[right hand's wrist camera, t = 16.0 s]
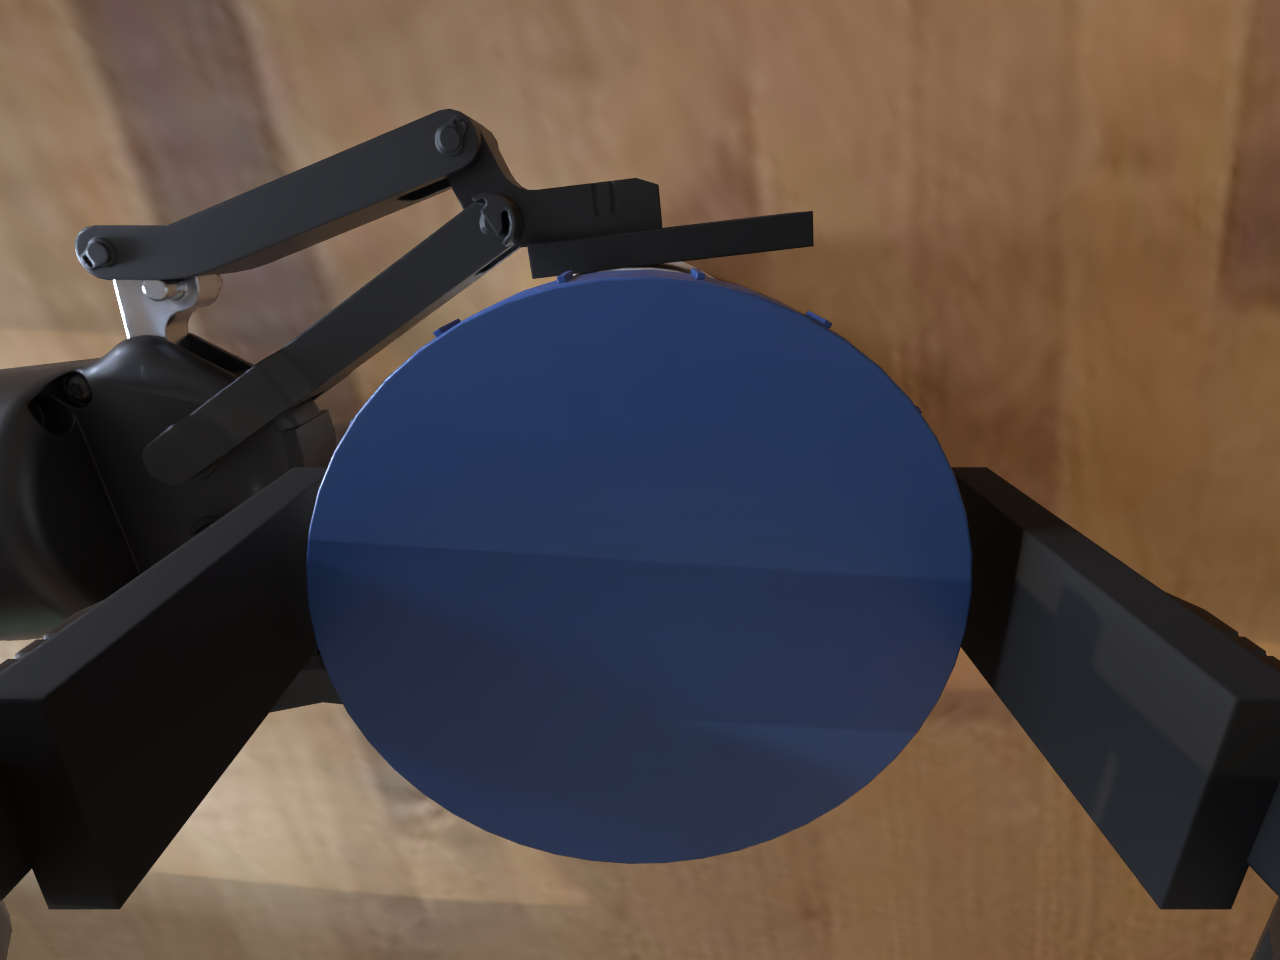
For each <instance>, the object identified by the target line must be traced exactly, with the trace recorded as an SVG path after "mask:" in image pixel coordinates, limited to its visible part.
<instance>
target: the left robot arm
mask: <svg viewBox="0 0 1280 960" xmlns="http://www.w3.org/2000/svg"><path fill="white" fill-rule="evenodd" d="M450 189H453V191H454V193H455V194H456V196H457V198H458V200H459V202H460V204H461V205H462V207H463V209H464V210H463V211H462V212H461V213H459V214H458V215H457V216H455V217H454V218H453V219H451V220H450V221H449V222H448V223H446V224H445V225H444V226H442V227H441V228H440V229H438V230H437V231H436V232H434V233H433V234H432V235H430V236H429V237H428V238H427V239H425V240H424V241H423V242H421V243H420V244H419V245H417V246H416V247H415V248H413V249H412V250H411V251H409V252H408V253H407V254H405V255H404V256H403V257H402V258H400V259H399V260H398V261H396V262H395V263H394V264H392V265H391V266H390V267H388V268H387V269H386V270H384V271H383V272H382V273H381V274H379V275H378V276H377V277H375V278H374V279H373V280H371V281H370V282H369V283H367V284H366V285H365V286H363V287H362V288H361V289H360V290H358V291H357V292H356V293H354V294H353V295H352V296H350V297H349V298H348V299H346V300H345V301H344V302H342V303H341V304H340V305H338V306H337V307H336V308H335V309H333V310H332V311H331V312H329V313H328V314H327V315H325V316H324V317H323V318H321V319H320V320H319V321H317V322H316V323H315V324H314V325H312V326H311V327H310V328H308V329H307V330H306V331H304V332H303V333H302V334H300V335H299V336H298V337H296V338H295V339H294V340H292V341H291V342H290V343H289V344H287V345H286V346H285V347H283V348H282V349H280V350H279V351H277V352H276V353H274V354H272V355H270V356H268V357H267V358H265V359H263V360H262V361H260V362H259V363H257V364H256V365H253V364H251V363H249V362H247V361H245V360H243V359H241V358H239V357H237V356H235V355H233V354H231V353H229V352H227V351H226V350H224V349H222V348H220V347H218V346H216V345H214V344H212V343H210V342H208V341H206V340H204V339H202V338H200V337H198V336H196V335H194V334H191V333H188V320H189V317H190V316H191V314H192V313H193V312H194V311H195V310H197V309H199V308H202V307H205V306H208V305H211V304H212V303H213V302H215V300H216V299H217V297H218V294H219V291H220V290H221V288H222V286H223V280H222V278H221V276H220V275H219V274H224V273H233V272H239V271H244V270H250V269H253V268H256V267H259V266H262V265H265V264H268V263H271V262H273V261H276V260H278V259H280V258H283V257H285V256H288V255H290V254H293V253H295V252H298V251H300V250H303V249H305V248H307V247H310V246H312V245H315V244H317V243H320V242H322V241H325V240H327V239H330V238H332V237H334V236H337V235H339V234H342V233H344V232H347V231H349V230H352V229H354V228H356V227H359V226H361V225H364V224H366V223H369V222H371V221H374V220H376V219H379V218H381V217H383V216H386V215H388V214H391V213H393V212H396V211H398V210H401V209H403V208H406V207H408V206H410V205H413V204H415V203H418V202H420V201H423V200H425V199H428V198H430V197H433V196H435V195H437V194H440V193H442V192H445V191H447V190H450ZM810 246H813V211H808V212H796V213H785V214H776V215H768V216H760V217H751V218H743V219H734V220H726V221H717V222H709V223H700V224H692V225H683V226H675V227H666V228H662V218H661V208H660V197H659V186H658V185H657V184H654V183H651V182H647V181H644V180H641V179H637V178H632V179H624V180H615V181H607V182H599V183H591V184H582V185H574V186H566V187H558V188H549V189H541V190H527V189H525V188H524V187H522V186H521V185H520V184H519V183H518V182H517V181H516V180H515V179H514V177H513V176H512V174H511V173H510V171H509V169H508V167H507V165H506V163H505V161H504V159H503V157H502V155H501V153H500V151H499V148H498V143H497V140H496V139H495V137H494V136H493V134H492V133H491V132H490V131H489V130H488V129H486V128H485V127H484V126H482V125H481V124H479V123H478V122H476V121H474V120H473V119H471V118H470V117H468V116H466V115H465V114H463V113H461V112H459V111H456V110H452V109H446V110H440V111H437V112H435V113H432V114H430V115H428V116H425V117H423V118H421V119H418V120H416V121H413V122H411V123H409V124H406V125H404V126H402V127H399V128H397V129H395V130H392V131H390V132H387V133H385V134H383V135H380V136H378V137H376V138H373V139H371V140H369V141H366V142H364V143H361V144H359V145H357V146H354V147H352V148H350V149H347V150H345V151H343V152H340V153H338V154H336V155H333V156H331V157H328V158H326V159H324V160H321V161H319V162H317V163H314V164H312V165H310V166H307V167H305V168H302V169H300V170H298V171H295V172H293V173H291V174H288V175H286V176H284V177H281V178H279V179H276V180H274V181H272V182H269V183H267V184H265V185H262V186H260V187H258V188H255V189H253V190H250V191H248V192H246V193H243V194H241V195H239V196H236V197H234V198H232V199H229V200H227V201H225V202H222V203H220V204H217V205H215V206H213V207H210V208H208V209H206V210H203V211H201V212H199V213H196V214H194V215H191V216H189V217H187V218H184V219H182V220H180V221H177V222H175V223H173V224H170V225H95V226H90V227H86V228H84V229H83V230H82V231H81V232H80V233H78V236H77V238H76V241H75V249H76V254H77V257H78V259H79V261H80V263H81V264H82V266H83V267H84V268H85V269H86V270H87V271H88V272H89V273H91V274H92V275H94V276H96V277H98V278H101V279H106V280H113V282H114V286H115V290H116V293H117V297H118V301H119V305H120V309H121V313H122V317H123V321H124V325H125V329H126V333H127V337H128V339H126V340H124V341H122V342H120V343H119V344H117V345H116V346H115V347H114V348H113V349H112V350H111V351H110V352H109V353H108V354H106V355H105V356H103V357H101V358H96V359H87V360H78V361H70V362H61V363H52V364H43V365H35V366H26V367H17V368H8V369H0V641H2V640H7V641H12V640H29V639H39V638H43V635H44V634H45V633H47V632H48V631H50V630H51V629H52V628H54V627H55V626H57V625H58V624H60V623H61V622H63V621H64V620H66V619H67V618H68V617H70V616H71V615H73V614H74V613H76V612H78V611H80V610H82V609H85V608H87V607H89V606H91V605H93V604H96V603H98V602H100V601H102V600H105V599H106V598H107V597H109V596H110V595H112V594H113V593H115V592H116V591H117V590H119V589H120V588H122V587H123V586H125V585H126V584H127V583H129V582H130V581H132V580H133V579H135V578H136V577H138V576H139V575H140V574H142V573H143V572H145V571H146V570H148V569H149V568H150V567H152V566H153V565H155V564H156V563H158V562H159V561H160V560H162V559H163V558H165V557H166V556H168V555H169V554H170V553H172V552H173V551H175V550H176V549H178V548H179V547H180V546H182V545H183V544H185V543H186V542H188V541H189V540H190V539H192V538H193V537H195V536H196V535H198V534H199V533H200V532H202V531H203V530H205V529H206V528H208V527H209V526H210V525H212V524H213V523H215V522H216V521H218V520H219V519H220V518H222V517H223V516H225V515H226V514H228V513H229V512H230V511H232V510H233V509H235V508H236V507H238V506H239V505H240V504H242V503H243V502H245V501H246V500H248V499H249V498H250V497H252V496H253V495H255V494H256V493H258V492H259V491H260V490H262V489H263V488H265V487H266V486H268V485H269V484H270V483H272V482H273V481H275V480H276V479H278V478H279V477H280V476H282V475H283V474H285V473H286V472H288V471H289V470H290V469H292V468H293V467H328V465H329V463H330V460H331V458H332V456H333V453H334V451H335V449H336V435H335V432H334V428H333V424H332V421H331V417H330V413H329V410H322V411H320V410H319V408H318V406H317V405H316V404H315V402H314V400H316V399H317V398H318V397H320V396H321V395H322V394H324V393H325V392H326V391H328V390H329V389H331V388H332V387H333V386H335V385H336V384H337V383H339V382H340V381H341V380H343V379H344V378H346V377H347V376H348V375H349V374H350V373H351V372H352V371H353V370H354V369H356V368H357V367H359V366H360V365H361V364H363V363H364V362H365V361H367V360H368V359H369V358H371V357H372V356H374V355H375V354H376V353H378V352H379V351H380V350H382V349H383V348H384V347H386V346H387V345H389V344H390V343H391V342H393V341H394V340H395V339H397V338H398V337H399V336H401V335H402V334H404V333H405V332H406V331H408V330H409V329H410V328H412V327H413V326H414V325H416V324H417V323H419V322H420V321H421V320H423V319H424V318H425V317H427V316H428V315H429V314H431V313H432V312H434V311H435V310H436V309H438V308H439V307H440V306H442V305H443V304H444V303H446V302H447V301H449V300H450V299H451V298H453V297H454V296H455V295H457V294H458V293H460V292H461V291H462V290H464V289H465V288H466V287H468V286H469V285H470V284H472V283H473V282H475V281H476V280H477V279H479V278H480V277H481V276H483V275H484V274H485V273H487V272H488V271H490V270H491V269H492V268H494V267H495V266H496V265H498V264H499V263H500V262H502V261H503V260H505V259H506V258H507V257H509V256H510V255H511V254H513V253H514V252H515V251H517V250H518V249H520V248H521V247H528V253H529V259H530V266H531V272H532V278H533V279H535V278H543V277H552V276H559V275H561V274H563V273H564V272H567V271H572V272H573V274H578V273H587V272H595V271H604V270H612V269H620V268H630V267H638V266H647V265H655V264H664V263H673V262H681V261H690V260H698V259H707V258H716V257H724V256H733V255H741V254H750V253H759V252H767V251H776V250H784V249H793V248H802V247H810ZM321 702H326V703H336V704H343V703H342V701H341V699H340V698H339V696H338V694H337V692H336V690H335V688H334V686H333V685H332V683H331V681H330V679H329V676H328V673H327V671H326V668H325V665H324V663H323V660H322V657H321V655H320V652H319V649H317V650H316V652H315V653H314V654H313V656H312V657H311V658H310V660H309V661H308V662H307V663H306V665H305V666H304V667H303V669H302V670H301V671H300V673H299V674H298V675H297V677H296V678H295V679H294V681H293V682H292V683H291V685H290V686H289V687H288V688H287V690H286V691H285V692H284V694H283V695H282V696H281V698H280V699H279V700H278V702H277V703H276V704H275V706H274V707H273V708H272V710H271V711H270V712H275V711H280V710H285V709H290V708H295V707H300V706H306V705H311V704H316V703H321Z"/></svg>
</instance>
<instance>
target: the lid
mask: <svg viewBox="0 0 1280 960" xmlns="http://www.w3.org/2000/svg"><path fill="white" fill-rule="evenodd" d="M831 325H832V323H830V322H829V321H827V320H826V319H824V318H822V317H820V316H818V315H816V314H814V313H812V312H810V311H807V313H806V314H805V315H803V314H802V313H800V312H798V311H796V310H794V309H793V308H791V307H789V306H787V305H785V304H783V303H782V302H780V301H777V300H775V299H773V298H770V297H768V296H765V295H763V294H760V293H758V292H755V291H753V290H750V289H748V288H745V287H743V286H741V285H737V284H733V283H729V282H725V281H721V280H717V279H713V278H709V277H705V273H703V272H702V271H701V270H699V269H697V268H691V274H689V273H680V272H671V271H662V270H653V269H651V270H614V271H603V272H597V273H591V274H585V275H579V276H573V272H572V271H567V272H564V273H563V274H561V275H559V276H558V277H557V280H556V281H553V282H550V283H547V284H543V285H540V286H537V287H534V288H531V289H527V290H524V291H522V292H519V293H517V294H515V295H513V296H511V297H509V298H507V299H505V300H503V301H500V302H498V303H496V304H494V305H492V306H490V307H488V308H486V309H484V310H482V311H480V312H478V313H476V314H474V315H472V316H471V317H469V318H467V319H465V320H463V321H460V320H459V319H456V320H455V321H453V322H451V323H449V324H447V325H445V326H443V327H441V328H439V329H437V330H436V331H435V332H433V333H434V335H435V336H436V337H437V338H435V339H434V340H432V341H431V342H429V343H428V344H426V345H425V346H423V347H422V348H420V349H419V350H418V351H417V352H416V353H414V354H413V355H412V356H411V357H410V358H409V359H408V360H407V361H406V362H404V363H403V364H402V365H401V366H400V367H399V368H398V369H397V370H395V371H394V372H393V373H392V374H391V375H390V376H389V377H388V378H386V379H385V381H384V382H383V383H382V384H381V385H380V387H379V388H378V389H377V390H376V391H375V393H374V394H373V395H372V396H371V397H370V399H369V400H368V401H367V402H366V403H365V405H364V406H363V407H362V408H361V409H360V411H359V412H358V413H357V414H356V416H355V418H354V419H352V421H351V422H350V424H349V425H350V426H349V428H348V429H347V431H346V433H345V434H344V436H343V438H342V439H341V441H340V443H339V444H338V446H337V448H336V449H335V451H334V453H333V456H332V458H331V460H330V463H329V465H328V468H327V470H326V473H325V475H324V478H323V480H322V483H321V485H320V487H319V490H318V494H317V498H316V503H315V507H314V511H313V515H312V519H311V524H310V528H309V537H308V550H307V562H306V577H307V592H308V606H309V612H310V616H311V621H312V625H313V630H314V634H315V639H316V643H317V647H318V649H319V652H320V655H321V657H322V660H323V663H324V665H325V668H326V671H327V673H328V676H329V679H330V681H331V683H332V685H333V686H334V688H335V690H336V692H337V694H338V696H339V698H340V699H341V701H342V703H343V705H344V707H345V709H346V710H347V712H348V714H349V715H350V717H351V718H352V719H353V721H354V722H355V723H356V725H357V726H358V728H359V729H360V730H361V732H362V733H363V735H364V736H365V737H366V739H367V740H368V741H369V743H370V744H371V745H372V746H373V747H374V748H375V749H376V750H377V751H378V752H379V753H380V755H381V756H382V757H383V758H384V759H385V760H386V761H387V762H388V763H389V764H390V765H391V766H392V767H393V769H394V770H396V771H397V772H398V773H399V774H400V775H401V776H403V777H404V778H405V779H406V780H407V781H409V782H410V783H411V784H412V785H413V786H414V787H416V788H417V789H418V790H419V791H420V792H422V793H423V794H424V795H426V796H427V797H429V798H430V799H432V800H433V801H435V802H436V803H438V804H439V805H441V806H442V807H444V808H445V809H447V810H448V811H450V812H451V813H453V814H454V815H456V816H458V817H460V818H462V819H464V820H466V821H468V822H470V823H472V824H474V825H476V826H477V827H479V828H481V829H483V830H485V831H487V832H490V833H493V834H495V835H498V836H500V837H503V838H505V839H508V840H510V841H513V842H515V843H518V844H520V845H524V846H528V847H531V848H535V849H538V850H542V851H545V852H549V853H552V854H556V855H562V856H567V857H573V858H579V859H584V860H590V861H601V862H614V863H626V864H636V863H669V862H677V861H686V860H694V859H702V858H707V857H711V856H716V855H721V854H725V853H730V852H734V851H738V850H742V849H745V848H748V847H751V846H754V845H757V844H760V843H763V842H766V841H769V840H772V839H775V838H777V837H779V836H781V835H784V834H786V833H788V832H790V831H793V830H795V829H797V828H799V827H802V826H804V825H806V824H808V823H810V822H811V821H813V820H815V819H816V818H818V817H820V816H822V815H823V814H825V813H827V812H829V811H830V810H832V809H834V808H835V807H837V806H839V805H840V804H841V803H843V802H844V801H846V800H847V799H848V798H850V797H851V796H852V795H854V794H855V793H856V792H858V791H859V790H860V789H862V788H863V787H865V786H866V785H867V784H868V783H870V782H871V781H872V780H873V779H874V778H875V777H876V776H877V775H878V774H879V773H880V772H881V771H882V770H883V769H885V768H886V767H887V766H888V765H889V764H890V763H891V762H892V761H893V760H894V759H895V758H896V757H897V756H898V755H899V753H900V752H901V751H902V750H903V749H904V747H905V746H906V745H907V744H908V743H909V742H910V740H911V739H912V738H913V737H914V736H915V734H916V733H917V732H918V731H919V729H920V728H921V726H922V725H923V723H924V722H925V720H926V718H927V717H928V715H929V714H930V712H931V711H932V709H933V708H934V706H935V705H936V703H937V701H938V700H939V698H940V696H941V694H942V691H943V689H944V687H945V685H946V683H947V681H948V679H949V677H950V675H951V672H952V670H953V668H954V666H955V663H956V660H957V656H958V653H959V650H960V647H961V644H962V640H963V637H964V634H965V631H966V625H967V619H968V612H969V606H970V600H971V594H972V549H971V542H970V535H969V528H968V521H967V514H966V511H965V507H964V504H963V501H962V497H961V494H960V491H959V488H958V484H957V481H956V478H955V474H954V472H953V470H952V468H951V466H950V464H949V462H948V460H947V458H946V456H945V454H944V452H943V449H942V447H941V445H940V443H939V441H938V439H937V437H936V435H935V434H934V432H933V431H932V430H931V428H930V427H929V425H928V424H927V422H926V421H925V419H924V418H923V416H922V415H921V413H922V412H921V410H920V409H919V407H917V406H916V405H914V403H913V402H912V400H911V399H910V398H909V397H908V396H907V395H906V394H905V393H904V392H903V391H902V390H901V389H900V388H899V386H898V385H897V384H896V383H895V382H894V381H893V380H892V379H891V378H890V377H889V376H888V375H887V374H886V373H885V372H884V370H883V369H882V368H881V367H880V366H878V365H877V364H876V363H875V362H873V361H872V360H871V359H870V358H868V357H867V356H866V355H865V354H863V353H862V352H861V351H860V350H858V349H857V348H856V347H854V346H853V345H852V344H851V343H849V342H848V341H847V340H846V339H844V338H843V337H841V336H840V335H838V334H836V333H834V332H833V331H831V330H829V328H830V327H831Z"/></svg>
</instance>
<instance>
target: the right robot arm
mask: <svg viewBox="0 0 1280 960" xmlns="http://www.w3.org/2000/svg"><path fill="white" fill-rule="evenodd" d="M327 468H328V467H293V468H292V469H290V470H289V471H288V472H286V473H285V474H283V475H282V476H280V477H279V478H278V479H276V480H275V481H273V482H272V483H270V484H269V485H268V486H266V487H265V488H263V489H262V490H260V491H259V492H258V493H256V494H255V495H253V496H252V497H250V498H249V499H248V500H246V501H245V502H243V503H242V504H240V505H239V506H238V507H236V508H235V509H233V510H232V511H230V512H229V513H228V514H226V515H225V516H223V517H222V518H220V519H219V520H218V521H216V522H215V523H213V524H212V525H210V526H209V527H208V528H206V529H205V530H203V531H202V532H200V533H199V534H198V535H196V536H195V537H193V538H192V539H190V540H189V541H188V542H186V543H185V544H183V545H182V546H180V547H179V548H178V549H176V550H175V551H173V552H172V553H170V554H169V555H168V556H166V557H165V558H163V559H162V560H160V561H159V562H158V563H156V564H155V565H153V566H152V567H150V568H149V569H148V570H146V571H145V572H143V573H142V574H140V575H139V576H138V577H136V578H135V579H133V580H132V581H130V582H129V583H127V584H126V585H125V586H123V587H122V588H120V589H119V590H117V591H116V592H115V593H113V594H112V595H110V596H109V597H107V598H106V599H105V600H102V601H100V602H98V603H96V604H93V605H91V606H89V607H87V608H85V609H82V610H80V611H78V612H76V613H74V614H73V615H71V616H70V617H68V618H67V619H66V620H64V621H63V622H61V623H60V624H58V625H57V626H55V627H54V628H52V629H51V630H50V631H48V632H47V633H45V634H44V635H43V639H42V640H35V641H34V642H32V643H31V644H29V645H28V646H26V647H25V648H23V649H22V650H20V651H19V652H18V653H16V654H15V658H14V659H7V660H6V661H4V662H3V663H1V664H0V960H6V958H7V953H8V947H9V942H10V937H11V932H12V928H11V922H10V915H9V913H8V910H7V908H6V906H5V904H4V901H3V898H4V897H5V896H6V895H7V894H8V893H9V892H10V891H11V890H12V889H13V888H14V887H15V886H16V885H17V884H18V883H19V882H20V880H21V879H22V878H23V877H24V876H25V875H26V874H27V873H28V872H29V871H30V870H31V869H33V872H34V874H35V877H36V879H37V881H38V884H39V886H40V889H41V891H42V893H43V896H44V898H45V901H46V903H47V906H48V908H49V909H120V908H121V907H122V905H123V904H124V903H125V901H126V900H127V899H128V897H129V896H130V895H131V894H132V892H133V891H134V890H135V888H136V887H137V886H138V884H139V883H140V882H141V880H142V879H143V878H144V876H145V875H146V874H147V873H148V871H149V870H150V869H151V867H152V866H153V865H154V863H155V862H156V861H157V859H158V858H159V857H160V855H161V854H162V853H163V851H164V850H165V849H166V848H167V846H168V845H169V844H170V842H171V841H172V840H173V838H174V837H175V836H176V834H177V833H178V832H179V830H180V829H181V828H182V827H183V825H184V824H185V823H186V821H187V820H188V819H189V817H190V816H191V815H192V813H193V812H194V811H195V809H196V808H197V807H198V805H199V804H200V803H201V802H202V800H203V799H204V798H205V796H206V795H207V794H208V792H209V791H210V790H211V788H212V787H213V786H214V784H215V783H216V782H217V780H218V779H219V778H220V777H221V775H222V774H223V773H224V771H225V770H226V769H227V767H228V766H229V765H230V763H231V762H232V761H233V759H234V758H235V757H236V756H237V754H238V753H239V752H240V750H241V749H242V748H243V746H244V745H245V744H246V742H247V741H248V740H249V738H250V737H251V736H252V734H253V733H254V732H255V731H256V729H257V728H258V727H259V725H260V724H261V723H262V721H263V720H264V719H265V717H266V716H267V715H268V713H269V712H270V711H271V710H272V708H273V707H274V706H275V704H276V703H277V702H278V700H279V699H280V698H281V696H282V695H283V694H284V692H285V691H286V690H287V688H288V687H289V686H290V685H291V683H292V682H293V681H294V679H295V678H296V677H297V675H298V674H299V673H300V671H301V670H302V669H303V667H304V666H305V665H306V663H307V662H308V661H309V660H310V658H311V657H312V656H313V654H314V653H315V652H316V650H317V649H318V647H317V643H316V639H315V634H314V630H313V625H312V621H311V616H310V612H309V606H308V592H307V577H306V562H307V550H308V537H309V528H310V524H311V519H312V515H313V511H314V507H315V503H316V498H317V494H318V490H319V487H320V485H321V483H322V480H323V478H324V475H325V473H326V470H327ZM951 468H952V470H953V472H954V474H955V478H956V481H957V484H958V488H959V491H960V494H961V497H962V501H963V504H964V507H965V511H966V514H967V521H968V528H969V535H970V542H971V549H972V594H971V600H970V606H969V612H968V619H967V625H966V631H965V634H964V637H963V640H962V644H961V648H962V649H963V650H964V652H965V653H966V654H967V656H968V657H969V658H970V660H971V661H972V662H973V664H974V665H975V666H976V667H977V669H978V670H979V671H980V673H981V674H982V675H983V677H984V678H985V679H986V681H987V682H988V683H989V685H990V686H991V687H992V688H993V690H994V691H995V692H996V694H997V695H998V696H999V698H1000V699H1001V700H1002V702H1003V703H1004V704H1005V706H1006V707H1007V708H1008V710H1009V711H1010V712H1011V713H1012V715H1013V716H1014V717H1015V719H1016V720H1017V721H1018V723H1019V724H1020V725H1021V727H1022V728H1023V729H1024V731H1025V732H1026V733H1027V734H1028V736H1029V737H1030V738H1031V740H1032V741H1033V742H1034V744H1035V745H1036V746H1037V748H1038V749H1039V750H1040V752H1041V753H1042V754H1043V756H1044V757H1045V758H1046V759H1047V761H1048V762H1049V763H1050V765H1051V766H1052V767H1053V769H1054V770H1055V771H1056V773H1057V774H1058V775H1059V777H1060V778H1061V779H1062V781H1063V782H1064V783H1065V784H1066V786H1067V787H1068V788H1069V790H1070V791H1071V792H1072V794H1073V795H1074V796H1075V798H1076V799H1077V800H1078V802H1079V803H1080V804H1081V805H1082V807H1083V808H1084V809H1085V811H1086V812H1087V813H1088V815H1089V816H1090V817H1091V819H1092V820H1093V821H1094V823H1095V824H1096V825H1097V827H1098V828H1099V829H1100V830H1101V832H1102V833H1103V834H1104V836H1105V837H1106V838H1107V840H1108V841H1109V842H1110V844H1111V845H1112V846H1113V848H1114V849H1115V850H1116V851H1117V853H1118V854H1119V855H1120V857H1121V858H1122V859H1123V861H1124V862H1125V863H1126V865H1127V866H1128V867H1129V869H1130V870H1131V871H1132V873H1133V874H1134V875H1135V876H1136V878H1137V879H1138V880H1139V882H1140V883H1141V884H1142V886H1143V887H1144V888H1145V890H1146V891H1147V892H1148V894H1149V895H1150V896H1151V898H1152V899H1153V900H1154V901H1155V903H1156V904H1157V905H1158V907H1159V908H1160V909H1231V908H1232V906H1233V903H1234V901H1235V898H1236V896H1237V893H1238V891H1239V889H1240V886H1241V884H1242V881H1243V879H1244V877H1245V874H1246V872H1247V869H1248V867H1249V866H1250V867H1251V868H1252V869H1253V870H1254V871H1255V872H1256V873H1257V874H1258V875H1259V876H1260V877H1261V878H1262V879H1263V880H1264V882H1265V883H1266V884H1267V885H1268V886H1269V887H1270V888H1271V889H1272V890H1273V891H1274V892H1275V893H1276V894H1277V895H1278V896H1279V897H1278V899H1277V901H1276V904H1275V906H1274V908H1273V910H1272V913H1271V915H1270V917H1269V919H1268V922H1267V924H1266V926H1265V929H1264V931H1263V933H1262V935H1261V938H1260V940H1259V942H1258V944H1257V947H1256V949H1255V951H1254V953H1253V956H1252V958H1251V960H1280V661H1279V660H1278V659H1277V658H1275V657H1274V656H1267V655H1266V651H1265V650H1263V649H1262V648H1260V647H1259V646H1257V645H1256V644H1255V643H1253V642H1252V641H1250V640H1249V639H1247V638H1246V637H1239V636H1238V632H1237V631H1235V630H1234V629H1232V628H1231V627H1230V626H1228V625H1227V624H1225V623H1224V622H1222V621H1221V620H1219V619H1218V618H1216V617H1215V616H1213V615H1212V614H1210V613H1209V612H1208V611H1206V610H1204V609H1202V608H1200V607H1198V606H1195V605H1193V604H1191V603H1189V602H1186V601H1184V600H1182V599H1180V598H1178V597H1175V596H1173V595H1171V594H1169V593H1166V592H1164V591H1163V590H1161V589H1160V588H1158V587H1157V586H1155V585H1154V584H1153V583H1151V582H1150V581H1148V580H1147V579H1145V578H1144V577H1142V576H1141V575H1140V574H1138V573H1137V572H1135V571H1134V570H1132V569H1131V568H1130V567H1128V566H1127V565H1125V564H1124V563H1122V562H1121V561H1120V560H1118V559H1117V558H1115V557H1114V556H1112V555H1111V554H1110V553H1108V552H1107V551H1105V550H1104V549H1102V548H1101V547H1100V546H1098V545H1097V544H1095V543H1094V542H1092V541H1091V540H1090V539H1088V538H1087V537H1085V536H1084V535H1082V534H1081V533H1080V532H1078V531H1077V530H1075V529H1074V528H1072V527H1071V526H1070V525H1068V524H1067V523H1065V522H1064V521H1062V520H1061V519H1060V518H1058V517H1057V516H1055V515H1054V514H1052V513H1051V512H1050V511H1048V510H1047V509H1045V508H1044V507H1042V506H1041V505H1040V504H1038V503H1037V502H1035V501H1034V500H1032V499H1031V498H1030V497H1028V496H1027V495H1025V494H1024V493H1022V492H1021V491H1020V490H1018V489H1017V488H1015V487H1014V486H1012V485H1011V484H1010V483H1008V482H1007V481H1005V480H1004V479H1002V478H1001V477H1000V476H998V475H997V474H995V473H994V472H992V471H991V470H989V469H988V468H987V467H951Z"/></svg>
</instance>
